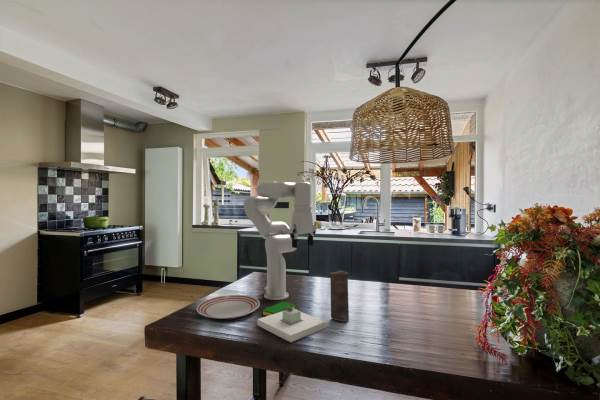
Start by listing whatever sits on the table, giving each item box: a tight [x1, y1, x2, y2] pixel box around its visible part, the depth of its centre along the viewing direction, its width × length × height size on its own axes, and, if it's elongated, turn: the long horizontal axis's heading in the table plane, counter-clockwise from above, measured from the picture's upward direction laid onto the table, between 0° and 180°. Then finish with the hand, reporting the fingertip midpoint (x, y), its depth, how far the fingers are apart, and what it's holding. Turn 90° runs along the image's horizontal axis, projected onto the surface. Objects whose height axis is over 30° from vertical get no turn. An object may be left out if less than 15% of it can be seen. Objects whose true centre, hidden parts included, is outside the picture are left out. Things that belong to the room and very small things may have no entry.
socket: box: [257, 311, 327, 343], centre depth 120 cm, size 20×18×3 cm
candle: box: [329, 270, 350, 323], centre depth 127 cm, size 8×7×20 cm
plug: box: [283, 306, 302, 326], centre depth 120 cm, size 6×5×7 cm
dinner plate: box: [196, 294, 261, 320], centre depth 137 cm, size 27×27×3 cm
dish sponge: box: [262, 301, 296, 317], centre depth 137 cm, size 7×14×2 cm, turn 144°
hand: (302, 246), depth 140 cm, fingers open, 9 cm apart
